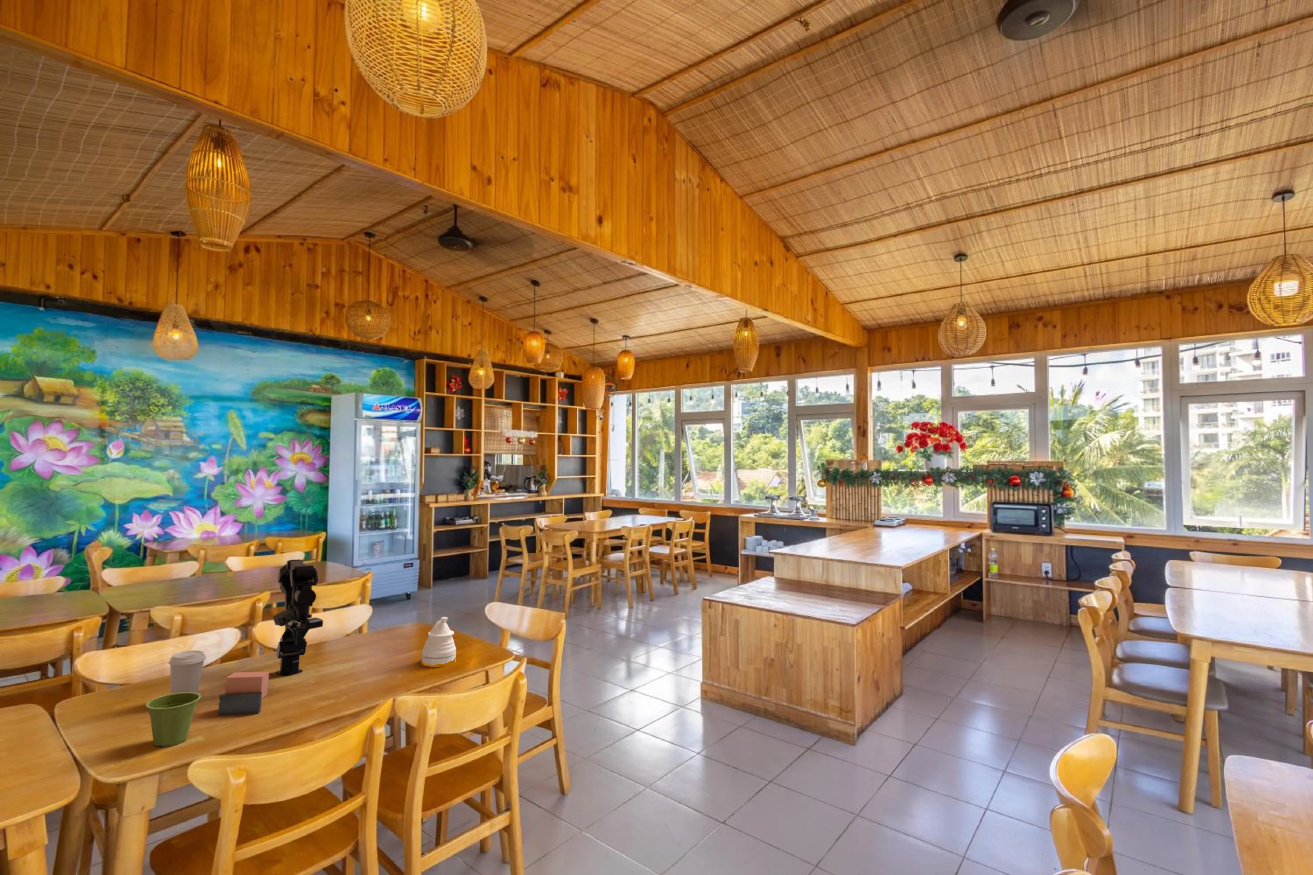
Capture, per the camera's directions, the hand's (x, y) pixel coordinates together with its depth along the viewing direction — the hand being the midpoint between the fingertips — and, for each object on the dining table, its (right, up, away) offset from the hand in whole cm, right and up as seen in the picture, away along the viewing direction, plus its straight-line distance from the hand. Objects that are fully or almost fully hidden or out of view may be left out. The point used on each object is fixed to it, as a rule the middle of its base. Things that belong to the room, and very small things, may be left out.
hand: (297, 645), depth 213 cm
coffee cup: (-24, -11, -21) cm, 34 cm away
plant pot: (-6, -10, -49) cm, 50 cm away
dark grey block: (-2, -11, -23) cm, 26 cm away
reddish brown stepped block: (-1, -11, -25) cm, 27 cm away
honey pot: (+40, -17, +27) cm, 51 cm away
